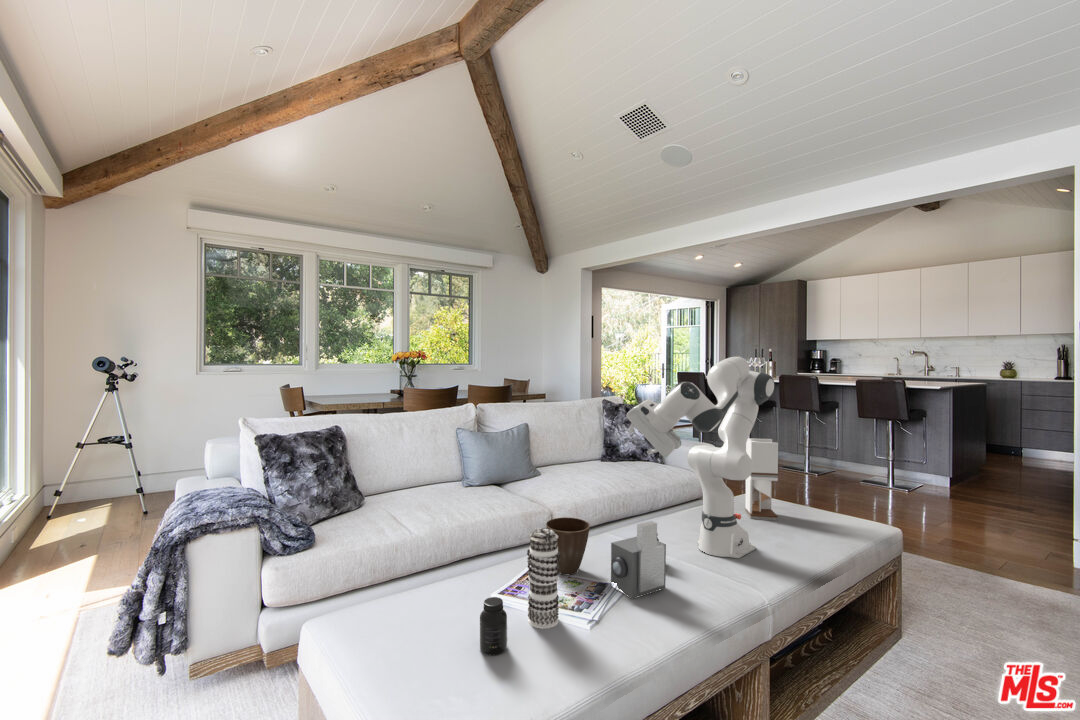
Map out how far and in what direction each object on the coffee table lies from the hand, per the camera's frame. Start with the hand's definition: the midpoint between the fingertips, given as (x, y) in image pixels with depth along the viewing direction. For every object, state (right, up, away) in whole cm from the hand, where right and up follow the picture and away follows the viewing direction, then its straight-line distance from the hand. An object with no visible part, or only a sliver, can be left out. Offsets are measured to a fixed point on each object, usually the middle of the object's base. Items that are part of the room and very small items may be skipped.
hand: (639, 443), depth 185 cm
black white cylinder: (-34, -43, -41) cm, 69 cm away
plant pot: (-26, -43, -8) cm, 51 cm away
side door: (-1, -41, -25) cm, 48 cm away
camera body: (-4, -43, -20) cm, 47 cm away
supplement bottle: (-47, -43, -55) cm, 84 cm away
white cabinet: (+67, -43, +55) cm, 97 cm away
